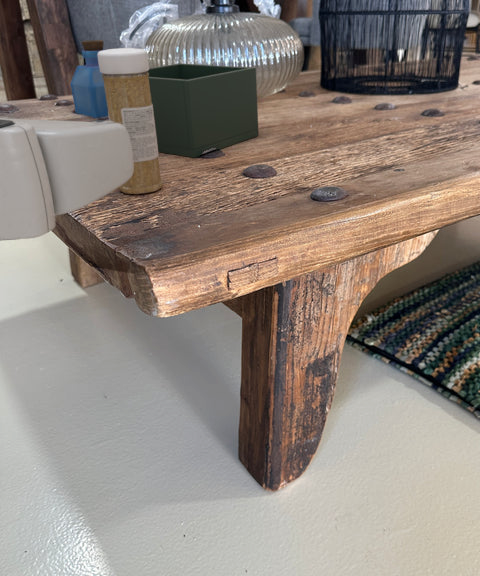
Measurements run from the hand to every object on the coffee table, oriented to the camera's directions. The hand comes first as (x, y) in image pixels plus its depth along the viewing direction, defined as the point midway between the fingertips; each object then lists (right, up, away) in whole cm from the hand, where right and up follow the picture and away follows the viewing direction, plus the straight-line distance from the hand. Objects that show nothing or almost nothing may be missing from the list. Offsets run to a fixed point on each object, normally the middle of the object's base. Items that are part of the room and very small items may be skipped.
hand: (57, 128), depth 46 cm
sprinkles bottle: (+3, -3, +14) cm, 14 cm away
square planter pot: (+5, +7, +32) cm, 34 cm away
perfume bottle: (-10, +12, +43) cm, 46 cm away
